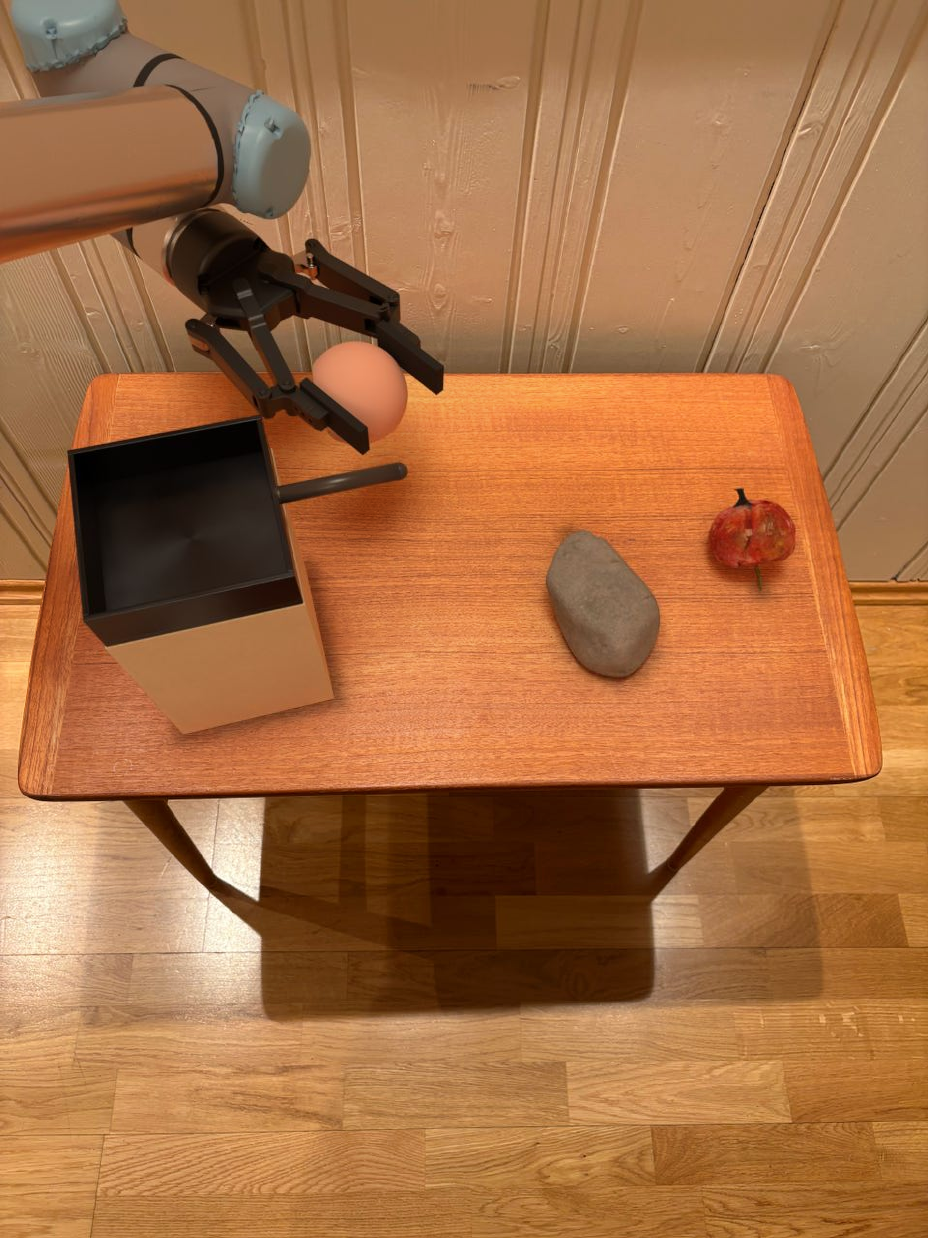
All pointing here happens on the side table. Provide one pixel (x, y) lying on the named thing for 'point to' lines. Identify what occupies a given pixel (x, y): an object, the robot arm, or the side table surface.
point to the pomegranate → (752, 533)
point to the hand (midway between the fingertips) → (403, 410)
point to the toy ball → (364, 386)
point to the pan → (189, 528)
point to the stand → (234, 662)
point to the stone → (602, 605)
